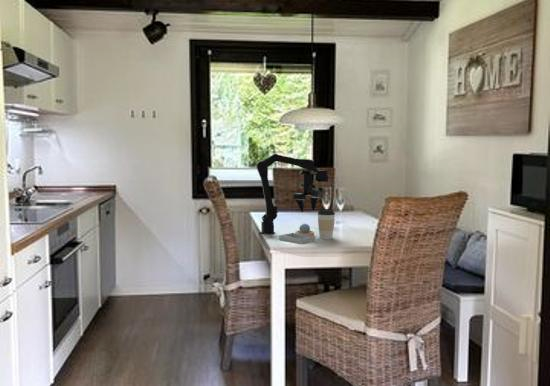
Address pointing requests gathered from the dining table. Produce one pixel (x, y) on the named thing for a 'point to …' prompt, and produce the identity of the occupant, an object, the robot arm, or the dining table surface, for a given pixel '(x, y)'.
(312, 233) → the bowl
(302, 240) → the shallow serving tray
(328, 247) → the dining table surface
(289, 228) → the dining table surface
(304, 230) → the ball
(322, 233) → the coffee cup
